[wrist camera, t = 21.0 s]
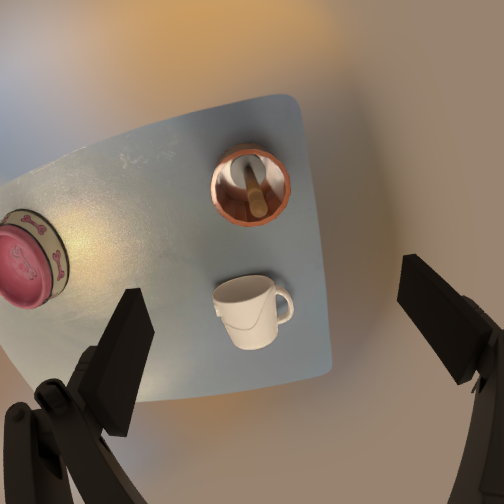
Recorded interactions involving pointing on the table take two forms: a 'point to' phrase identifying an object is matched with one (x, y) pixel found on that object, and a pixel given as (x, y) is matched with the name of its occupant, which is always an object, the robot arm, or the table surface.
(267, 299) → the mug
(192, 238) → the table surface
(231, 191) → the crock
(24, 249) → the dog bowl
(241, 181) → the toilet plunger
